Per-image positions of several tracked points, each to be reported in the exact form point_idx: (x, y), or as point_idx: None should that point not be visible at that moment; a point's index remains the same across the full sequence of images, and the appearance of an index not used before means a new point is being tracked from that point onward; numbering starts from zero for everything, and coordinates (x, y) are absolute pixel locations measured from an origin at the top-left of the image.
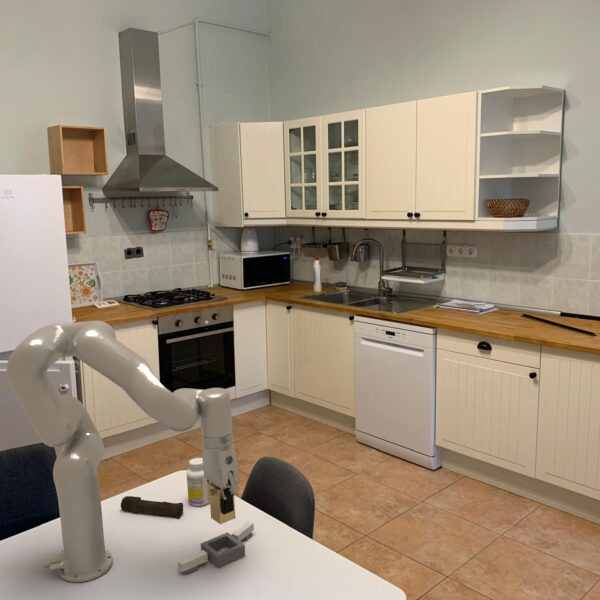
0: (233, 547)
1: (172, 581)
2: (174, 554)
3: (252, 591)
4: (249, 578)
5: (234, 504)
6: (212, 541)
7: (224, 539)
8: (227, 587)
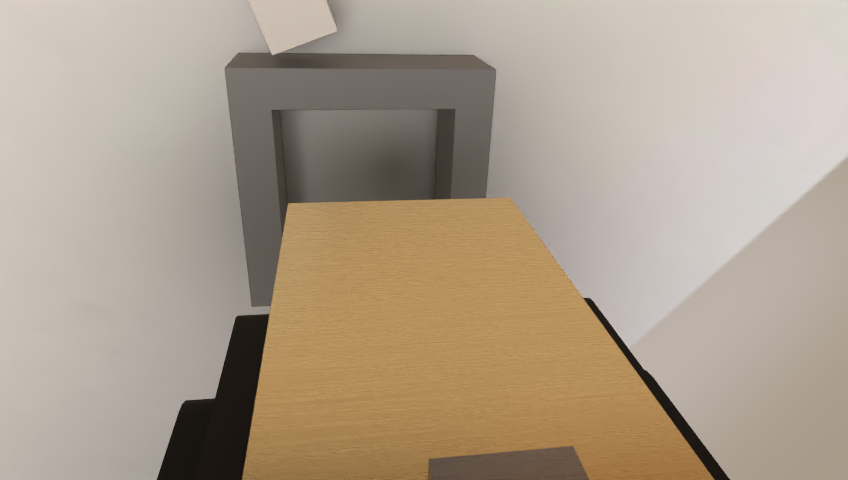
0: (461, 156)
1: None
2: (159, 377)
3: (749, 217)
4: (665, 169)
5: (580, 296)
6: (280, 232)
7: (274, 119)
8: (627, 292)
